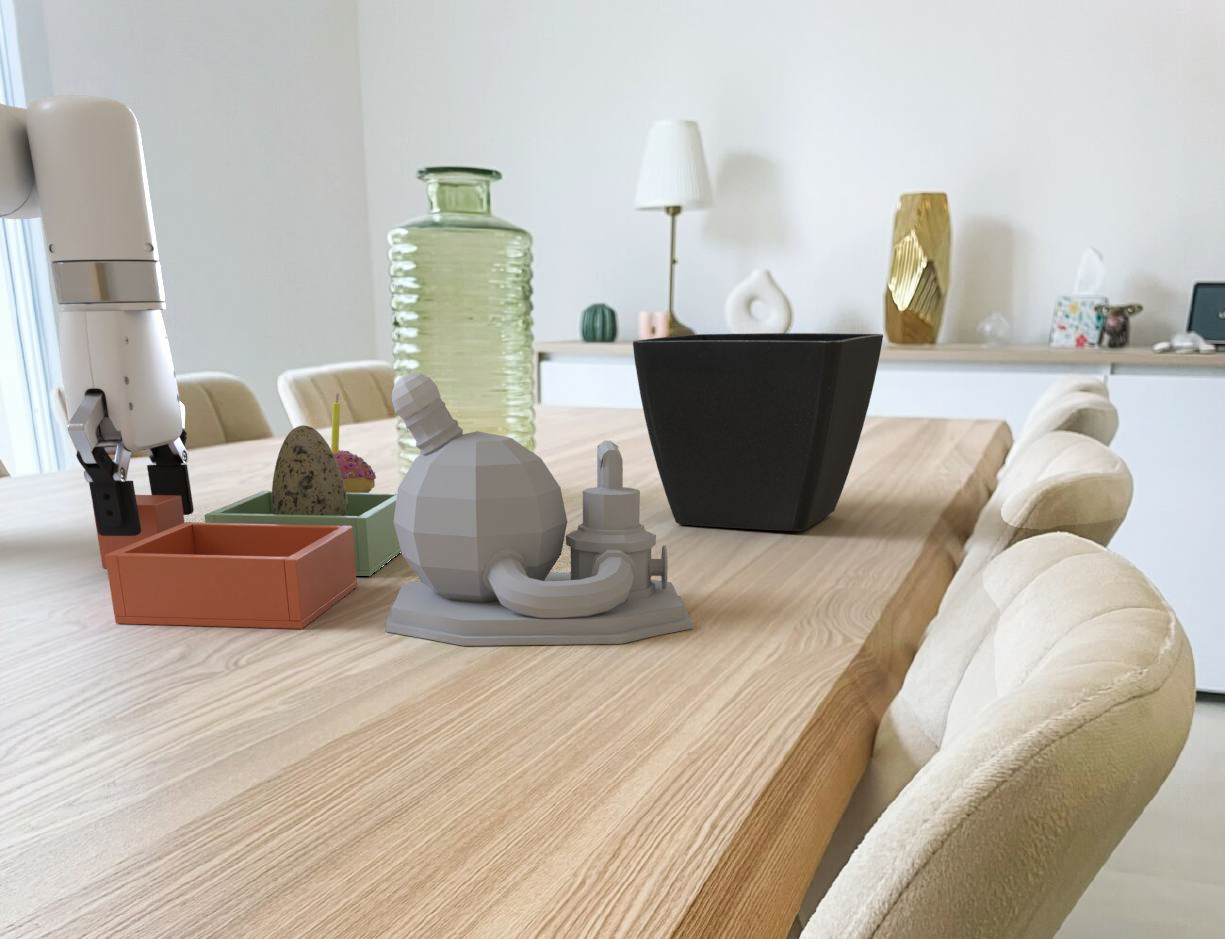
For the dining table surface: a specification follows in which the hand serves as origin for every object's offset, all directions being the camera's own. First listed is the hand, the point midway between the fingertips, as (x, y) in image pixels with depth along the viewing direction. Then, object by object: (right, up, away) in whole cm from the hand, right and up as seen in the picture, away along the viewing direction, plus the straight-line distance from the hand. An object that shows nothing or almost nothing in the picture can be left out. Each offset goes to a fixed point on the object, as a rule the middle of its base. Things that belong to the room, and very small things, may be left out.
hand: (148, 524), depth 97 cm
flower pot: (+51, +5, +22) cm, 56 cm away
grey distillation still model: (+32, -10, -14) cm, 36 cm away
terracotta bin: (+11, -8, -12) cm, 18 cm away
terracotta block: (-1, -3, +1) cm, 3 cm away
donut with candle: (+11, +3, +16) cm, 20 cm away
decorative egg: (+13, -2, +3) cm, 13 cm away
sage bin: (+13, -2, +3) cm, 13 cm away
